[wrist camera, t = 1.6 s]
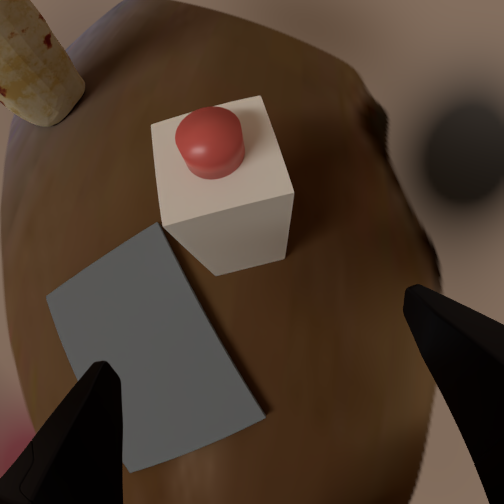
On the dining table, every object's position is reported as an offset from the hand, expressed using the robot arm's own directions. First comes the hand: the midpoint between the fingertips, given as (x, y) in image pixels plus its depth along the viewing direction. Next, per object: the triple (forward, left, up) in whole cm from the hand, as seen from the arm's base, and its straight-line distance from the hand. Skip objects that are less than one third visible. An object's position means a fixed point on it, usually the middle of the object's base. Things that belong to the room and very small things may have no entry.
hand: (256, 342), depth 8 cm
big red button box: (+7, -2, -13) cm, 15 cm away
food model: (+32, +9, -13) cm, 36 cm away
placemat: (+3, +9, -13) cm, 16 cm away
